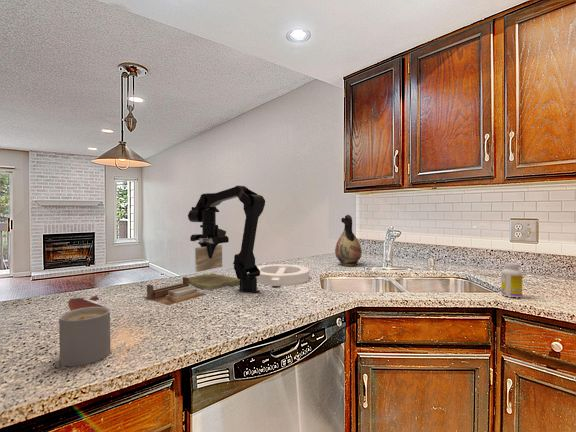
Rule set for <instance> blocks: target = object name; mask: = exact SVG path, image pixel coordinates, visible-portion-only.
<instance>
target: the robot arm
mask: <svg viewBox="0 0 576 432" xmlns="http://www.w3.org/2000/svg"><path fill="white" fill-rule="evenodd" d="M235 198H238V200H239V201H240V203H242V204H243V212H244V214H245V219H244V227H243V235H242V240H241V241H242V242H241V248H240V251H239V253H237V254H234V257H233V258H234V260H233V263H232V265H233V270H234V272H235V275H236V278H237V279H240V285H239V291H240V292H243V293H251V294H256V293H257V294H258V293H260V290H258V283H257V276H259V275H260V270H259V269H258V267H257V265H256V257H255V255H254V248H255V247H254V246H255V243H256V242H255V241H256V235H257V228H258V221H259V217H260V216H261V215H262V214H263V211H264V208H265V206H266V199H265V198H264V196H263V195H261V194H258V193H256V192H254V191H253V190H251V189H249V188H248V186H247V187H246V186H245V185H236V186H233V187H231V188H227V189H224V190H221V191H219V192H214V193H213V192H212V193H210V192H207V193H201V195H200V197H199V199H198V201H197V203H196V204H195V206H192V207H191V209H190V210H189V212H188V214H187V218H188V220H189V222H191V223H201V224H200V225H199V227H200V228H202V229H201V230H202V231H201V233H197V234H194V233H193V234H192V235H190V239H189V240H190V241H191V242H196V241H198V242H197V244H198V245H199V247H206V246H207V251H208V256H209V258H210V259H211V258H212V256H213V253H214V250H215V248H216V246H217V245H221V244H226V243H229V242H230V241H229V239H230V238H229V236H227V235H226V234H227V230H225V229H222V228H219V224H216V223H217V222H216V221H217V220H216V218H217V217H216V216H217V215H216V214H217V213H220V210H219V209H218V208H217V206H219V205H220V204H221V203H223V202H225V201H229V200H231V199H235Z"/></svg>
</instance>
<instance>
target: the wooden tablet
mask: <svg viewBox="0 0 576 432" xmlns="http://www.w3.org/2000/svg"><path fill="white" fill-rule="evenodd" d="M88 299H89V300H86V297H75V298H72V299H69V300H68V306H69V309H70V311H72V310H76V309H80V308H87V307H104V306H103V305H100V304H98V303H95V302H97V301H99V297H98V295H96V294H95V295H91V297H90V296H89V297H88Z"/></svg>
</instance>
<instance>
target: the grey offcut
mask: <svg viewBox="0 0 576 432" xmlns="http://www.w3.org/2000/svg"><path fill="white" fill-rule="evenodd" d="M196 292H198V288H197V287H195V286H190V285H189V286H187V287H183V288H179V289H175V290H171V291H168V295H169V296H173V297H181V296H185V295H189V294H192V293H196Z"/></svg>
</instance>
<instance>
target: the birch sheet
mask: <svg viewBox="0 0 576 432" xmlns="http://www.w3.org/2000/svg"><path fill="white" fill-rule="evenodd" d="M194 248H195V251H194V252H195V253H194V255H195V256H194V257H195V272H196V273H199V272H204V271H208V270H213V269H218V268H223V245H222V244H218V245H217V246H216V248H215V250H214V253H213V256H212V258H211V259H210V258H209V256H208V251H207V246H206V247H201V246H198V247H194Z"/></svg>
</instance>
